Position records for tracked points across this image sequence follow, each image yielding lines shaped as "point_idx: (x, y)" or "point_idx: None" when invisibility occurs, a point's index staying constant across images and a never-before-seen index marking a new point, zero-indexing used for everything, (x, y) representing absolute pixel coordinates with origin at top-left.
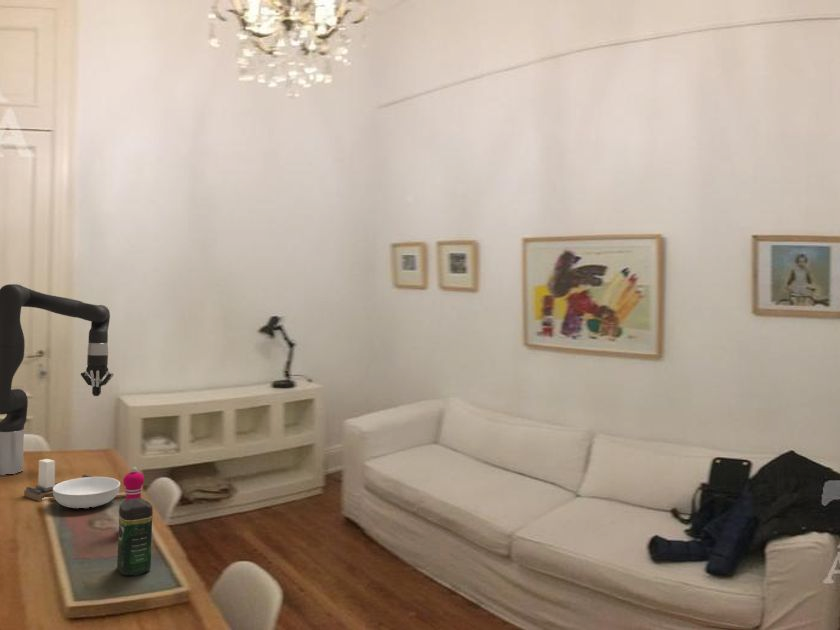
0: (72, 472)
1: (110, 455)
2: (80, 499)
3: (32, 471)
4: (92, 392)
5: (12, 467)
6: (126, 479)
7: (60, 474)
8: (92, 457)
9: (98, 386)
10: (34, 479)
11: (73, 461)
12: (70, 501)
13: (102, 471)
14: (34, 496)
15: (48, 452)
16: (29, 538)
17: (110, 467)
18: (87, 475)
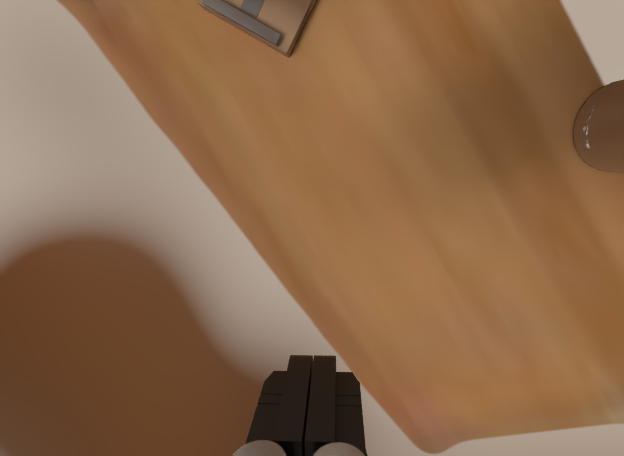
0: (392, 172)
1: (376, 393)
2: None
3: (540, 159)
4: (356, 390)
5: (612, 92)
6: None
7: (420, 139)
8: (423, 362)
9: (239, 448)
10: (479, 58)
11: (461, 306)
12: None
13: (298, 201)
14: None
15: (607, 402)
16: None
17: (298, 253)
18: (258, 31)
